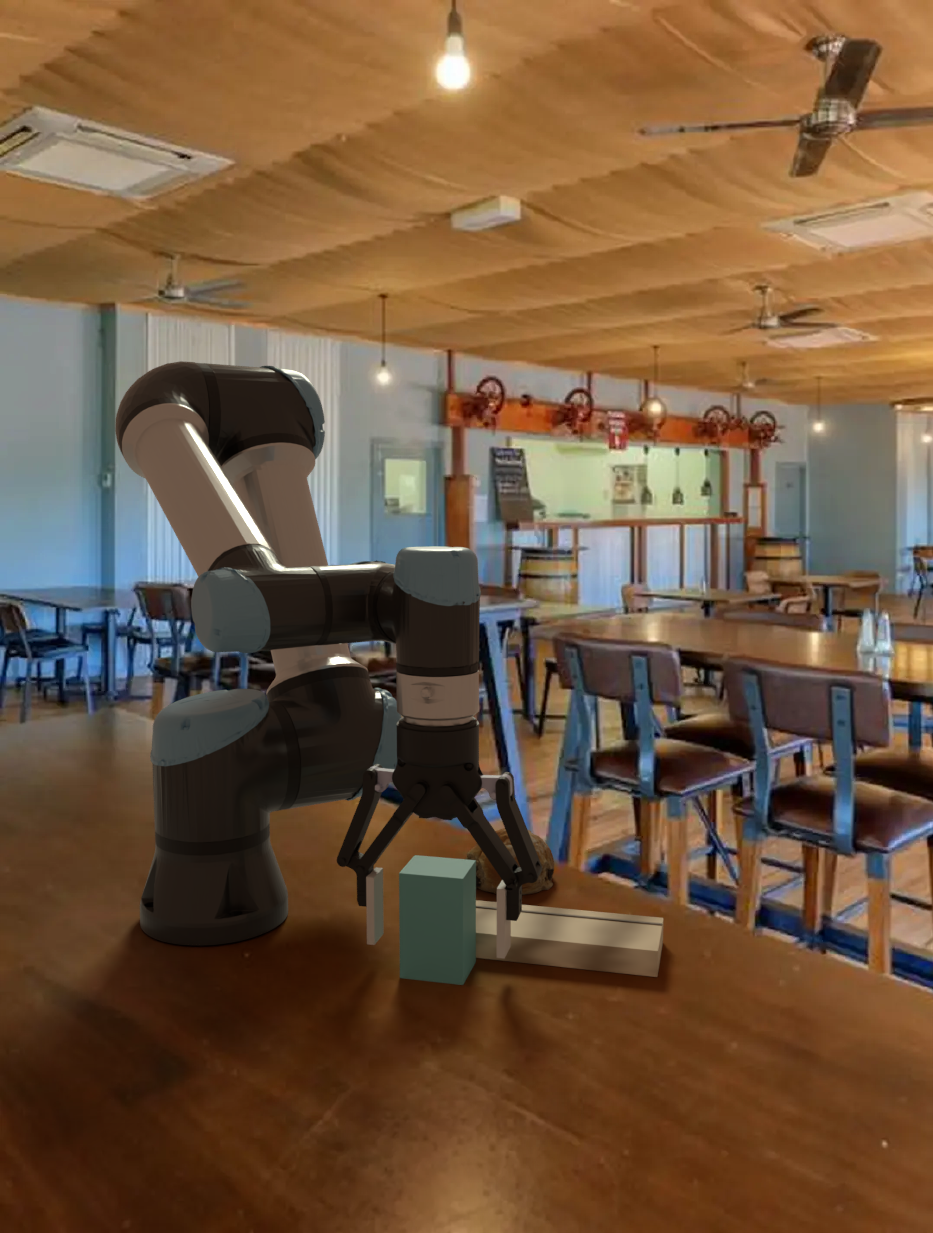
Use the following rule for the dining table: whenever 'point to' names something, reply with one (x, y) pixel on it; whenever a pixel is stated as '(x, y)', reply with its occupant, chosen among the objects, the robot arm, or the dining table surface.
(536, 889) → the bread roll
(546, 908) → the plank
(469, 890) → the teal boxy piece
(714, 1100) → the dining table surface
